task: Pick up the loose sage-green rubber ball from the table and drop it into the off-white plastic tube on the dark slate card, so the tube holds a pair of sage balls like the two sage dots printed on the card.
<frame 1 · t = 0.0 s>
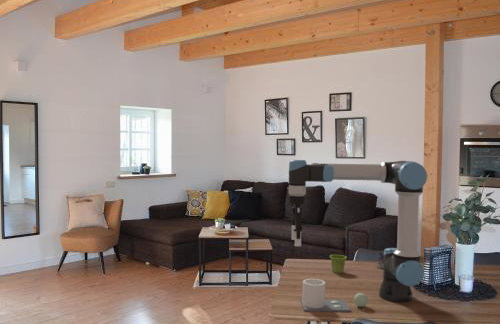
hand: (296, 242, 206), 28 cm above the table, fingers open, 13 cm apart
plant pot: (337, 272, 263), on the table
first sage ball: (313, 297, 206), point 4 cm above the table, touching tube stand
geode: (390, 267, 276), on the table
tube stand: (324, 306, 207), on the table
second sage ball: (360, 299, 207), point 3 cm above the table
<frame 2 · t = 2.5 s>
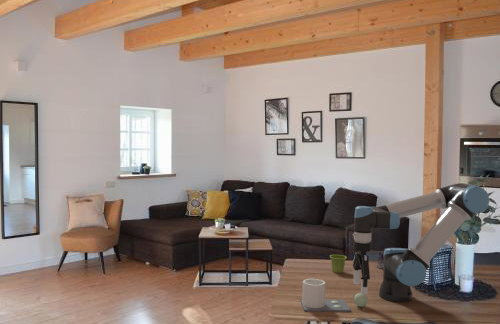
hand: (360, 289, 206), 8 cm above the table, fingers open, 13 cm apart
nothing on the table moved.
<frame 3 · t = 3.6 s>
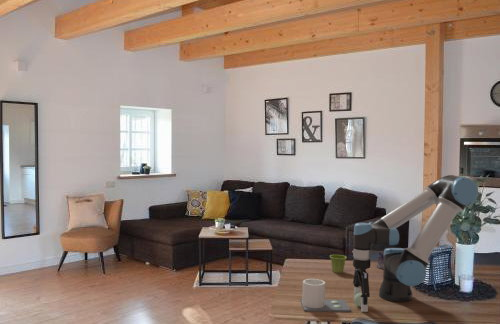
hand: (360, 306, 207), 0 cm above the table, fingers open, 12 cm apart
nothing on the table moved.
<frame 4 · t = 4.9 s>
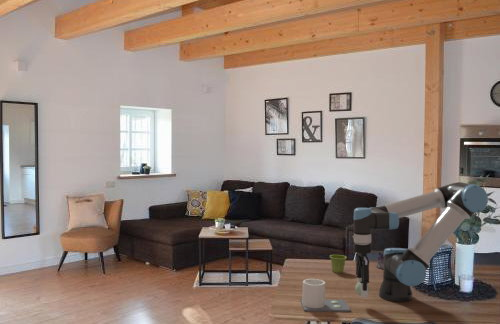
hand: (362, 294, 207), 5 cm above the table, fingers closed on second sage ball, 6 cm apart
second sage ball: (362, 288, 206), point 8 cm above the table, touching gripper
everything else where it was.
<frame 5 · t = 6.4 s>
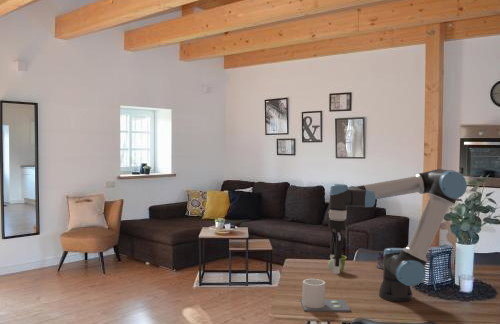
hand: (334, 271, 206), 16 cm above the table, fingers closed on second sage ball, 6 cm apart
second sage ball: (334, 265, 206), point 18 cm above the table, touching gripper
everything else where it was.
when the fingers open (12 cm above the table, at t = 8.1 s): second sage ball drops 6 cm and tips over, resting on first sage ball.
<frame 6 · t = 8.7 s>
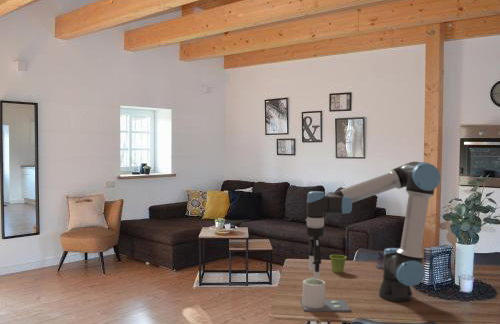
hand: (314, 274, 206), 14 cm above the table, fingers open, 13 cm apart
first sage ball: (315, 297, 206), point 4 cm above the table, tilted 14°, touching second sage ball, tube stand
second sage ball: (311, 284, 206), point 10 cm above the table, tilted 43°, touching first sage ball
everything else where it was.
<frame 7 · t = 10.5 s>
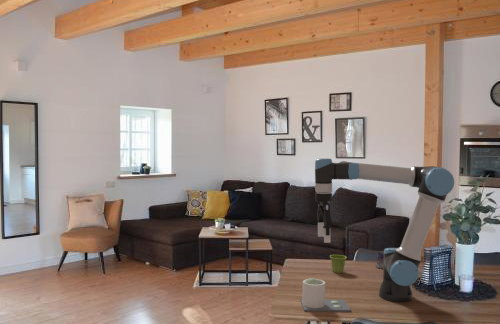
hand: (324, 239, 211), 29 cm above the table, fingers open, 13 cm apart
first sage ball: (315, 297, 206), point 4 cm above the table, tilted 19°, touching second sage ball, tube stand
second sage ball: (311, 284, 206), point 9 cm above the table, tilted 55°, touching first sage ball, tube stand
everything else where it was.
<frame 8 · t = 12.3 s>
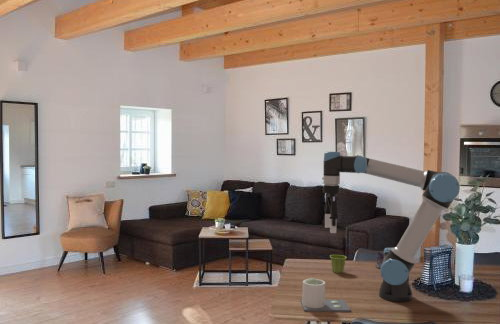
hand: (330, 230, 217), 32 cm above the table, fingers open, 13 cm apart
nothing on the table moved.
at the end: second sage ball 1.0 cm from the target spot on the tube stand, point 9.4 cm above the tube stand's base; the gripper is holding nothing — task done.
